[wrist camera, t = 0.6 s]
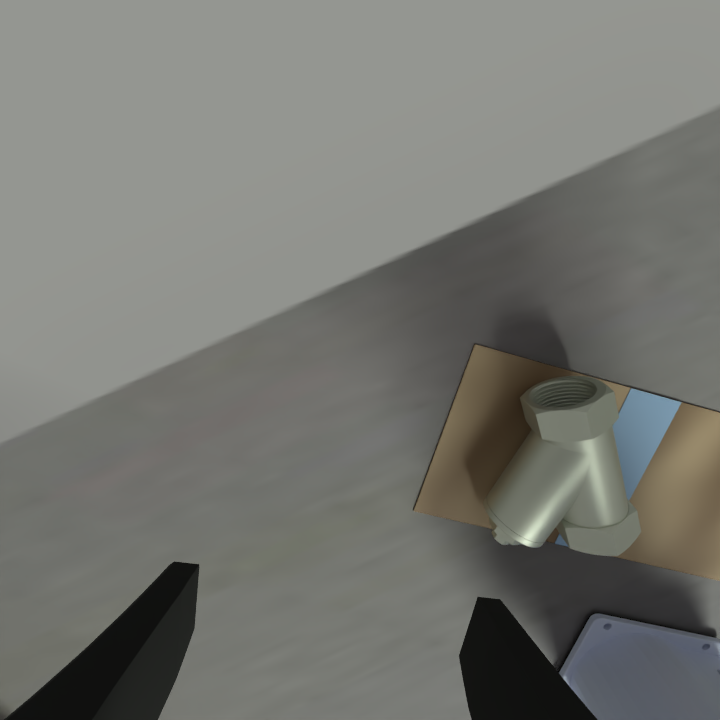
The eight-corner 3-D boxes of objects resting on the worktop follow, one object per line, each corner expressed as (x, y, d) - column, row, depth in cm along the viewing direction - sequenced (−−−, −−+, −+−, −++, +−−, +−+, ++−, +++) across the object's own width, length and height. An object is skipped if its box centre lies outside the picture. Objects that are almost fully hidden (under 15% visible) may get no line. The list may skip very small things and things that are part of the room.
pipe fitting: (487, 526, 22) (606, 496, 21) (510, 583, 18) (656, 550, 17) (449, 407, 20) (578, 367, 19) (466, 443, 16) (628, 396, 15)
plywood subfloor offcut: (806, 436, 21) (812, 438, 20) (716, 578, 23) (720, 581, 23) (473, 343, 19) (475, 344, 18) (413, 508, 21) (413, 511, 21)
